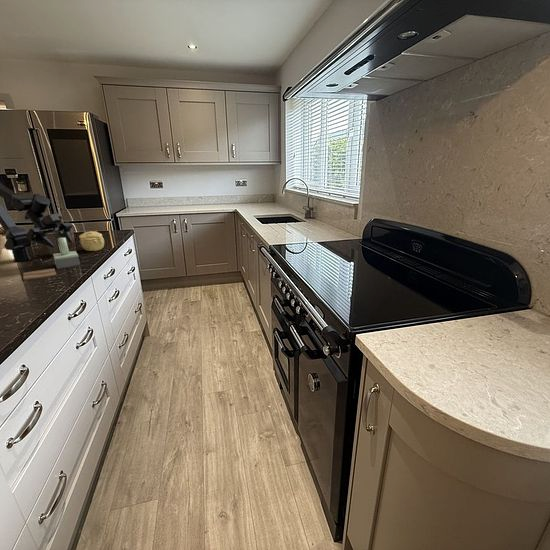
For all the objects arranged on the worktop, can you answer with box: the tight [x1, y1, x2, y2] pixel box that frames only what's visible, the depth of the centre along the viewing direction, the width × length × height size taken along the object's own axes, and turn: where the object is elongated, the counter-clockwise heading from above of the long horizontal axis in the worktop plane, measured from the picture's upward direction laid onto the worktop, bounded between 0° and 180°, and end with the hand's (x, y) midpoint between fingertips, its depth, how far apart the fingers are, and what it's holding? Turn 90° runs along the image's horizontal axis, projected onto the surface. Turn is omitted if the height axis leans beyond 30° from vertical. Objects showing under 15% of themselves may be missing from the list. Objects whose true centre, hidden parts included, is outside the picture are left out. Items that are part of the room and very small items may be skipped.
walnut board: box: [22, 267, 57, 282], centre depth 129 cm, size 11×11×1 cm
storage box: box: [53, 256, 81, 270], centre depth 141 cm, size 9×9×4 cm
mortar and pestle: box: [53, 218, 78, 253], centre depth 158 cm, size 12×9×20 cm
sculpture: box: [78, 230, 105, 252], centre depth 169 cm, size 11×12×11 cm
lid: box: [52, 237, 79, 261], centre depth 139 cm, size 9×9×9 cm
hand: (63, 244), depth 139 cm, fingers open, 9 cm apart
